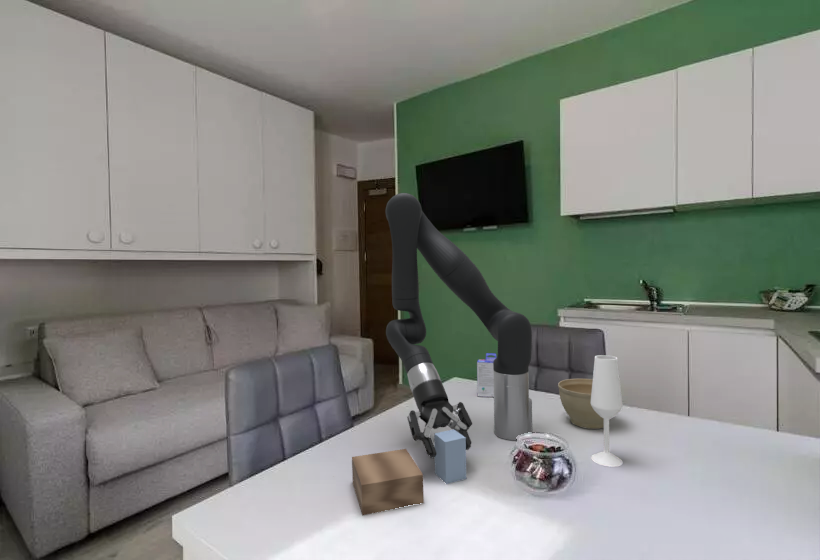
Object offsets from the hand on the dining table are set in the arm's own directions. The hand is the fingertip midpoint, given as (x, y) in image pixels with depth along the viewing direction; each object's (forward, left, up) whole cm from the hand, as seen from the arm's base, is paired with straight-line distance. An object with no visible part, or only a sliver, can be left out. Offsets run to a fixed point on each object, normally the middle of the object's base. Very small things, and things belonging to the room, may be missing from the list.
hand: (451, 452), depth 90 cm
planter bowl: (-50, -9, -6) cm, 51 cm away
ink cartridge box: (-41, -43, -6) cm, 60 cm away
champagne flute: (-36, +9, -6) cm, 38 cm away
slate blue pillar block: (0, -1, -6) cm, 6 cm away
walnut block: (+15, -1, -6) cm, 16 cm away
